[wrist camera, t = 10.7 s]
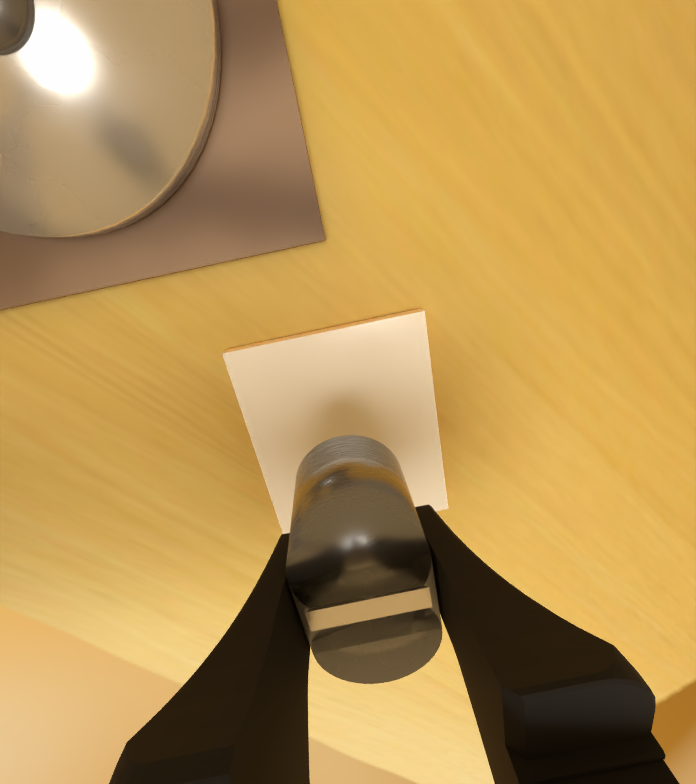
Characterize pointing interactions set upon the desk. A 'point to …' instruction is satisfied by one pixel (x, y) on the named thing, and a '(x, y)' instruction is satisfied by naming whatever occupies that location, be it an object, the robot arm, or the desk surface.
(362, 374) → the tile
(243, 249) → the dial base
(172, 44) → the dial
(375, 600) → the metal fitting
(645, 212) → the desk surface
